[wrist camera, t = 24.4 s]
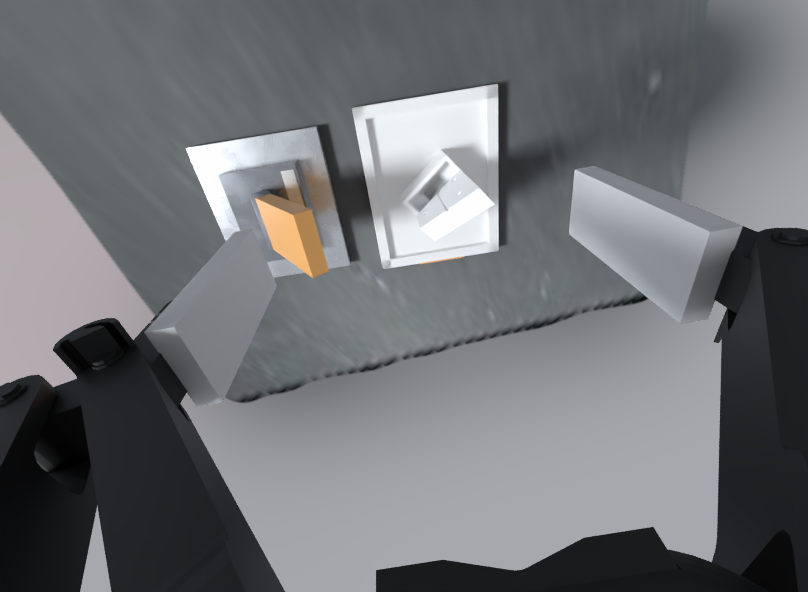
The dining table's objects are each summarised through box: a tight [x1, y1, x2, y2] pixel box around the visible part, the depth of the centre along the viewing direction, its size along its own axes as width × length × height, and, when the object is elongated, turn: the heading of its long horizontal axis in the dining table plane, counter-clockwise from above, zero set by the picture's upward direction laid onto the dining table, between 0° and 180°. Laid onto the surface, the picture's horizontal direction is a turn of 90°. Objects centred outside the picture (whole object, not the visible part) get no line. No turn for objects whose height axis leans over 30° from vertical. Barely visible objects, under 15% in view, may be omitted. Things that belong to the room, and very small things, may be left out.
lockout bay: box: [352, 84, 499, 269], centre depth 36 cm, size 16×13×1 cm
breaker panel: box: [186, 126, 351, 278], centre depth 35 cm, size 14×12×2 cm
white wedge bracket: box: [400, 150, 494, 241], centre depth 32 cm, size 4×10×9 cm, turn 137°
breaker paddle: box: [250, 191, 329, 278], centre depth 30 cm, size 5×2×11 cm
